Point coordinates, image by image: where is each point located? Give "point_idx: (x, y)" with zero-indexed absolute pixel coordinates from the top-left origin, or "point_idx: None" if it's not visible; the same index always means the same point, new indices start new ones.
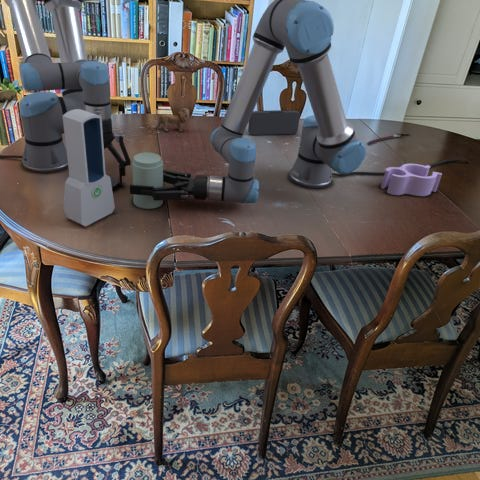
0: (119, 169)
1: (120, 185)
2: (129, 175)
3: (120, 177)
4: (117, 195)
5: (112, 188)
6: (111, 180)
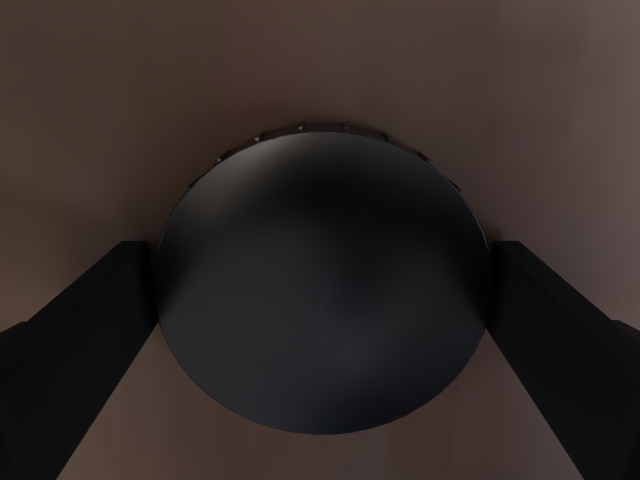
0: (4, 371)
1: (135, 246)
2: (95, 461)
3: (81, 294)
4: (161, 50)
5: (215, 165)
6: (230, 325)
